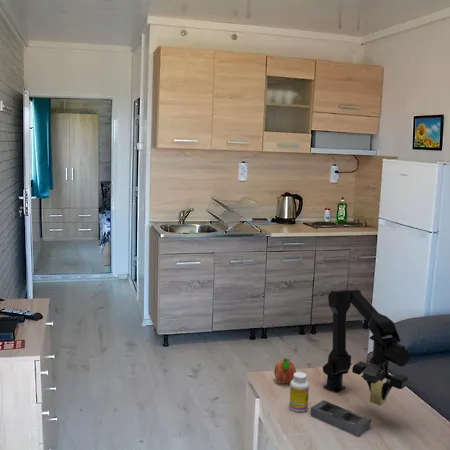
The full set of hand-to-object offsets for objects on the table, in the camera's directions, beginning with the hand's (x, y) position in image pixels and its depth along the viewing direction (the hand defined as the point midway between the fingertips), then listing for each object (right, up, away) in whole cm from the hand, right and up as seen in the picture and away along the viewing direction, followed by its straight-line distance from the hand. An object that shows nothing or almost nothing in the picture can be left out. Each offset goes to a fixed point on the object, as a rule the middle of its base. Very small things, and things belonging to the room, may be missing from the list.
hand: (378, 397), depth 185 cm
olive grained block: (0, -2, 0) cm, 2 cm away
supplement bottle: (-27, -6, +7) cm, 29 cm away
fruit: (-30, -3, +28) cm, 41 cm away
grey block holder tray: (-14, -8, -2) cm, 16 cm away
